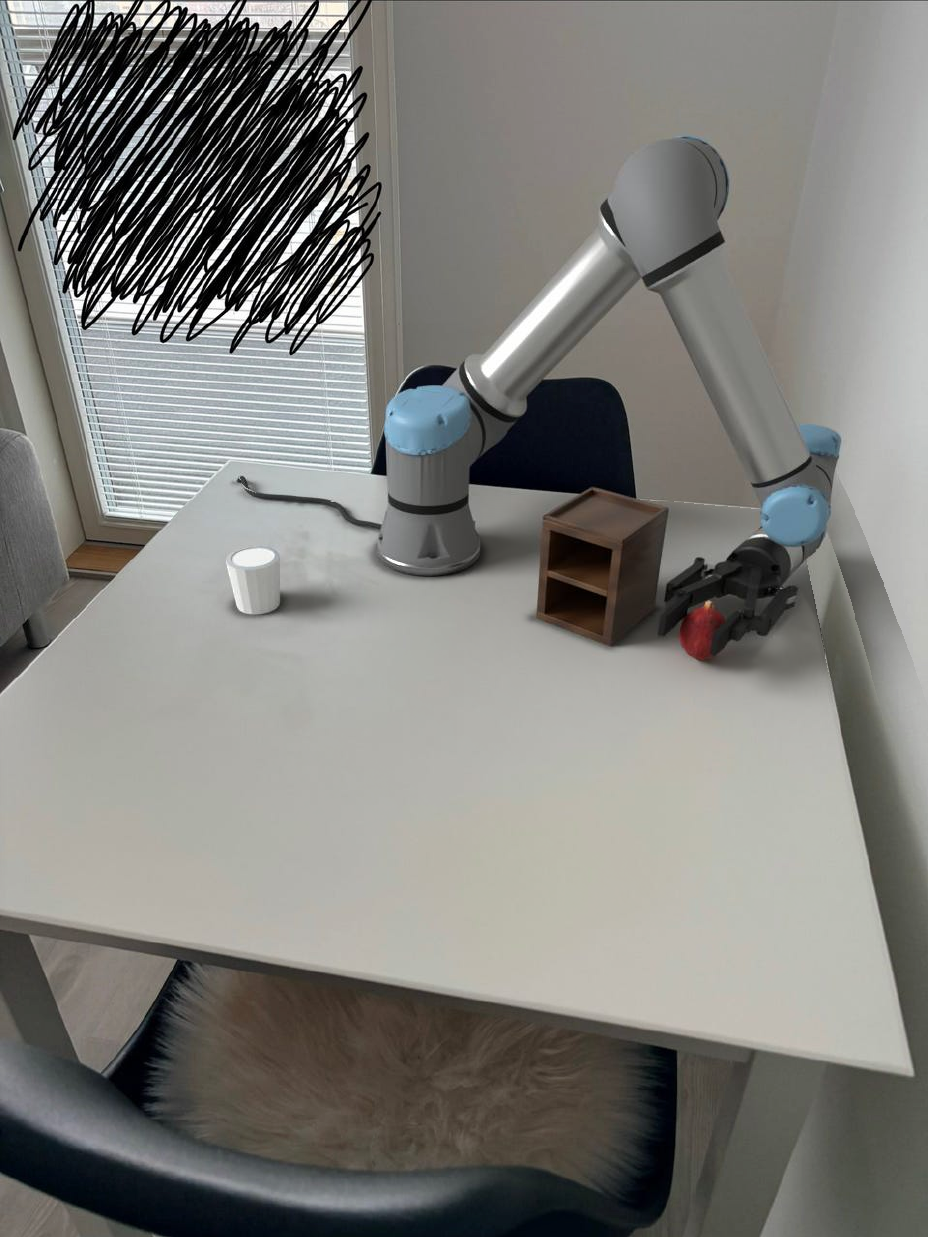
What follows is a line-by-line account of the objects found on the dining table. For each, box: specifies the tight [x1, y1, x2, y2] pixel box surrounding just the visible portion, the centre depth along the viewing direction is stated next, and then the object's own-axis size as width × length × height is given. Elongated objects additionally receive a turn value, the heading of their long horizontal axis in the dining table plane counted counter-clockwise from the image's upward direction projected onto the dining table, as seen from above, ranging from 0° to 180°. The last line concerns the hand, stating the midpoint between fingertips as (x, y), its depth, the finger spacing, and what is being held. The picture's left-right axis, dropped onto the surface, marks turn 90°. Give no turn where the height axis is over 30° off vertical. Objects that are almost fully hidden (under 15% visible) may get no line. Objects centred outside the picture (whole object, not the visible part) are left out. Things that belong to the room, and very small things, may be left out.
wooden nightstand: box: [535, 486, 670, 647], centre depth 112 cm, size 11×12×15 cm
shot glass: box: [225, 545, 281, 616], centre depth 115 cm, size 7×7×7 cm
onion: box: [677, 599, 727, 661], centre depth 104 cm, size 6×6×8 cm
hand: (687, 635), depth 100 cm, fingers closed on onion, 6 cm apart
